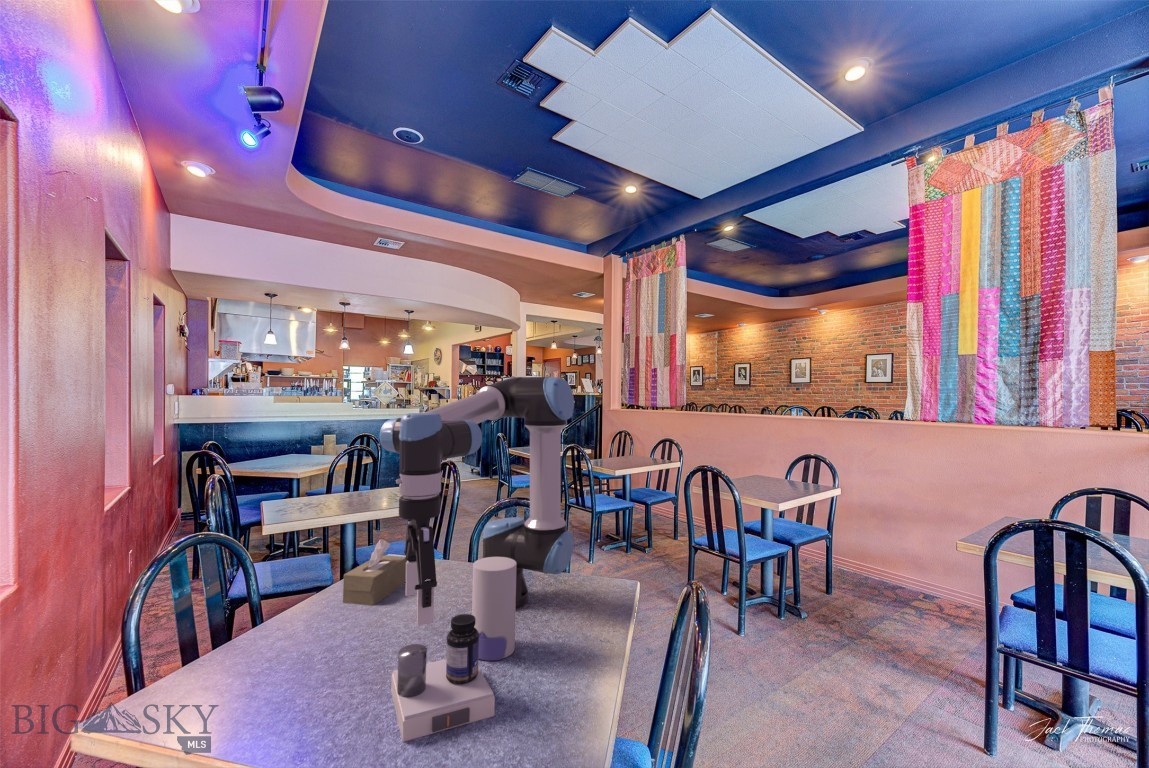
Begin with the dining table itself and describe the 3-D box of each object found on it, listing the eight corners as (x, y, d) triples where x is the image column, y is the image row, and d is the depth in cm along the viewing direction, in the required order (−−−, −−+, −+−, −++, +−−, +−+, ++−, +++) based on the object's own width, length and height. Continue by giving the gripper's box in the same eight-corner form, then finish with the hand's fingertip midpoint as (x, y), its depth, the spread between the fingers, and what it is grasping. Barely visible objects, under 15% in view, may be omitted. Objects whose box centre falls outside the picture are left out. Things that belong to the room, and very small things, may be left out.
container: (521, 644, 116) (523, 558, 117) (502, 665, 107) (504, 572, 107) (484, 636, 119) (486, 553, 120) (462, 656, 110) (464, 566, 111)
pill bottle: (467, 664, 99) (468, 609, 100) (484, 676, 95) (485, 619, 95) (439, 676, 95) (441, 618, 95) (456, 689, 90) (458, 629, 91)
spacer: (423, 679, 94) (424, 642, 94) (427, 693, 89) (429, 654, 89) (395, 685, 91) (396, 647, 92) (399, 700, 87) (400, 660, 87)
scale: (471, 672, 104) (471, 652, 104) (495, 718, 89) (496, 695, 89) (391, 691, 96) (391, 670, 96) (403, 744, 81) (404, 720, 81)
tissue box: (373, 606, 136) (375, 549, 136) (341, 603, 137) (343, 546, 138) (407, 582, 154) (408, 531, 155) (378, 579, 156) (380, 529, 156)
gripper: (391, 484, 101) (389, 587, 101) (409, 511, 79) (407, 643, 79) (428, 482, 105) (426, 581, 104) (455, 507, 83) (454, 633, 82)
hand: (418, 608), depth 92 cm, fingers open, 13 cm apart
